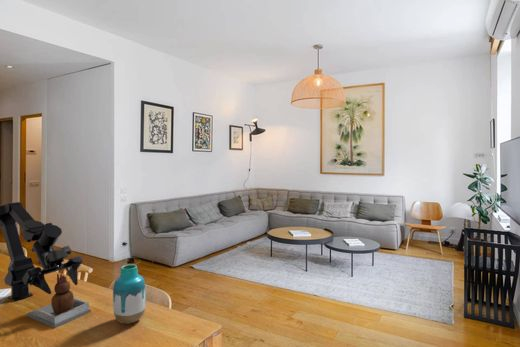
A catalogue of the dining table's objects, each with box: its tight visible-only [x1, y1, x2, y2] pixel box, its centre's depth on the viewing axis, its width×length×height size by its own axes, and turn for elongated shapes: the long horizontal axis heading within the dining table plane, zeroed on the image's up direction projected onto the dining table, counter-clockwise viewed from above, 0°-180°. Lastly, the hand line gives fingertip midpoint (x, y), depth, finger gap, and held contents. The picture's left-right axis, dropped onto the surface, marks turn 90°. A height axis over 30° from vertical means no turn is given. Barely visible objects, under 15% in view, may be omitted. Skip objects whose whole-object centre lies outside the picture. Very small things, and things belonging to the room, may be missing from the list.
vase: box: [112, 263, 147, 324], centre depth 115 cm, size 11×11×19 cm
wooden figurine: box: [51, 272, 75, 315], centre depth 118 cm, size 7×6×15 cm
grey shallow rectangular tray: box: [26, 297, 92, 329], centre depth 120 cm, size 17×13×4 cm
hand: (64, 288), depth 118 cm, fingers open, 9 cm apart
